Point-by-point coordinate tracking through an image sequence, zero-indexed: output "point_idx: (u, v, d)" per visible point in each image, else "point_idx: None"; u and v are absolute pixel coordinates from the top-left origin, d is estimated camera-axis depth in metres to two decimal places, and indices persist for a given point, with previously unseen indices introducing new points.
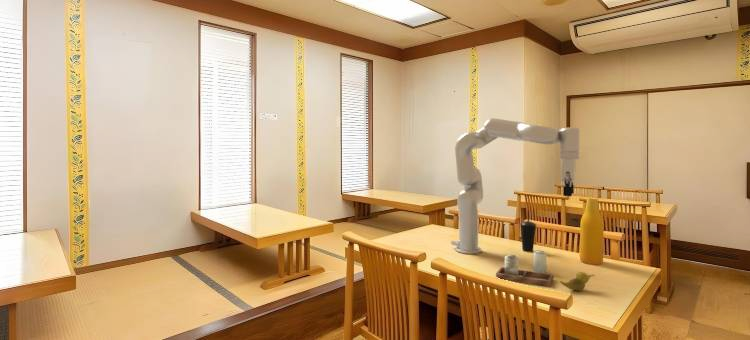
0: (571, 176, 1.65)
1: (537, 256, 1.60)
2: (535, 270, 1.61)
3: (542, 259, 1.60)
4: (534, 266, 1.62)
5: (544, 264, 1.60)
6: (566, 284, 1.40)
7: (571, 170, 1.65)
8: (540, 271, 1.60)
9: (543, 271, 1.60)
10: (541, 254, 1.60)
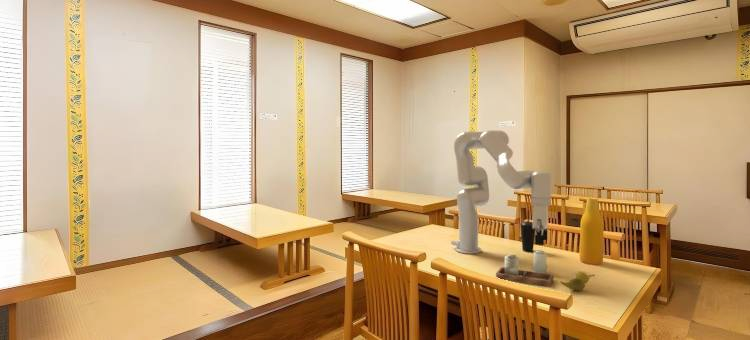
0: (543, 224, 1.56)
1: (537, 256, 1.60)
2: (535, 270, 1.61)
3: (542, 259, 1.60)
4: (534, 266, 1.62)
5: (544, 264, 1.60)
6: (566, 284, 1.40)
7: (542, 218, 1.56)
8: (540, 271, 1.60)
9: (543, 271, 1.60)
10: (541, 254, 1.60)
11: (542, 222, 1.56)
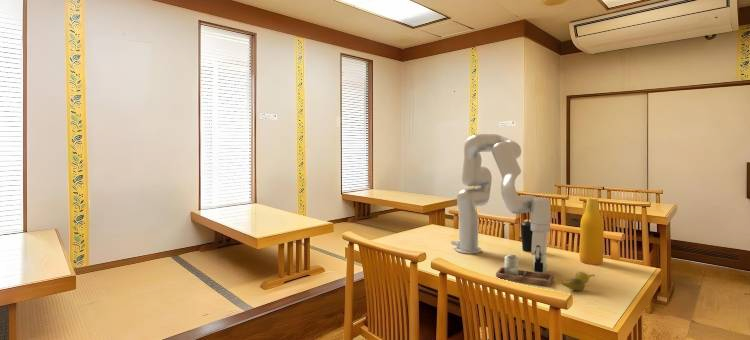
0: (541, 250, 1.57)
1: None
2: None
3: (542, 259, 1.60)
4: None
5: (544, 264, 1.60)
6: (566, 284, 1.40)
7: (541, 244, 1.57)
8: None
9: (543, 271, 1.60)
10: None
11: (541, 248, 1.57)
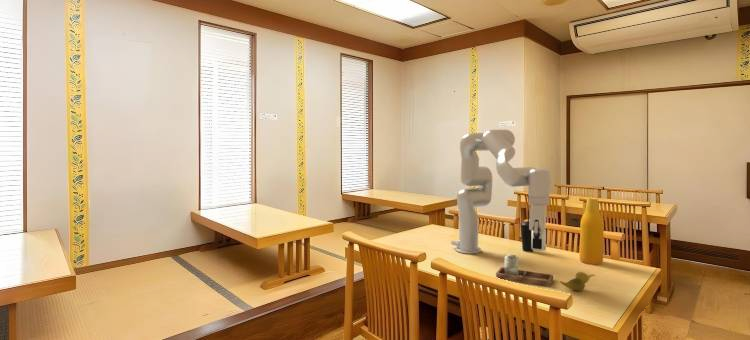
0: (540, 225, 1.45)
1: None
2: None
3: (541, 235, 1.48)
4: (532, 243, 1.50)
5: (543, 240, 1.48)
6: (566, 284, 1.40)
7: (540, 218, 1.45)
8: None
9: (542, 248, 1.48)
10: None
11: (539, 223, 1.45)
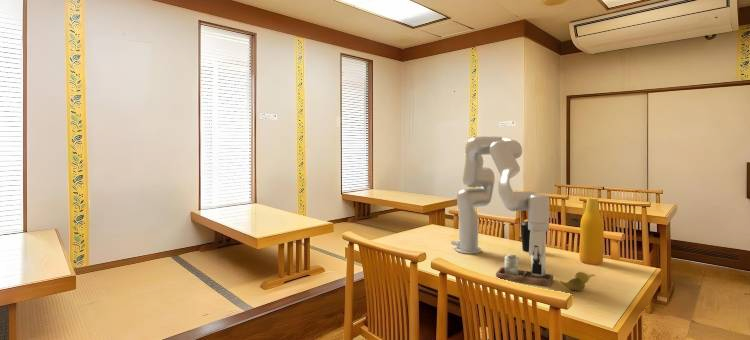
0: (540, 251, 1.46)
1: None
2: None
3: (541, 260, 1.49)
4: None
5: (543, 266, 1.49)
6: (566, 284, 1.40)
7: (540, 244, 1.46)
8: None
9: (542, 273, 1.49)
10: None
11: (539, 249, 1.46)
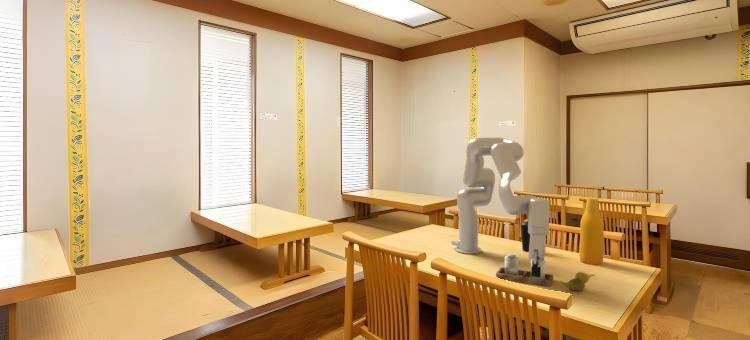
0: (540, 255, 1.46)
1: None
2: None
3: (541, 268, 1.49)
4: None
5: (542, 273, 1.49)
6: (566, 284, 1.40)
7: (540, 248, 1.46)
8: None
9: None
10: None
11: (539, 253, 1.46)
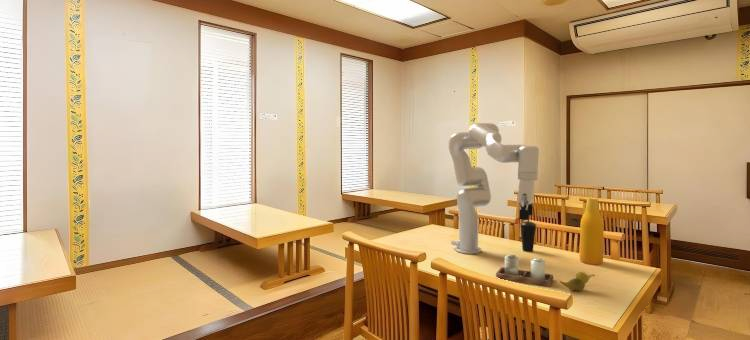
0: (528, 199, 1.54)
1: (535, 264, 1.50)
2: None
3: (541, 268, 1.49)
4: (532, 275, 1.51)
5: (542, 273, 1.49)
6: (566, 284, 1.40)
7: (528, 192, 1.54)
8: None
9: None
10: (539, 262, 1.49)
11: (527, 197, 1.54)
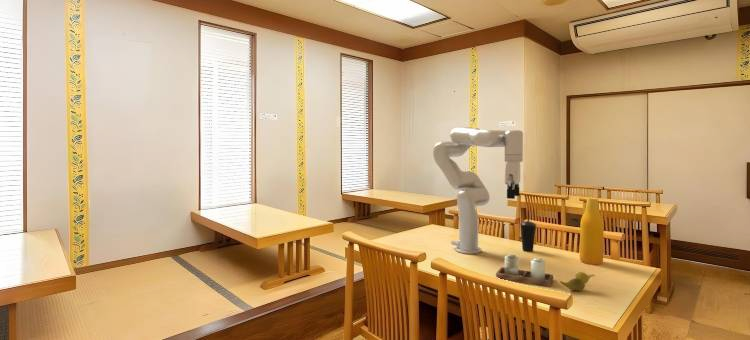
0: (514, 179, 1.66)
1: (535, 264, 1.50)
2: None
3: (541, 268, 1.49)
4: (532, 275, 1.51)
5: (542, 273, 1.49)
6: (566, 284, 1.40)
7: (514, 173, 1.66)
8: None
9: None
10: (539, 262, 1.49)
11: (513, 177, 1.66)
